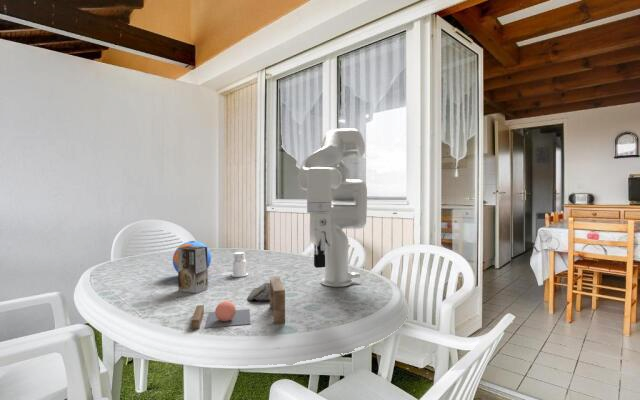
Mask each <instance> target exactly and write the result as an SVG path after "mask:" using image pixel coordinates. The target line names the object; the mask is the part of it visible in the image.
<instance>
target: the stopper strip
mask: <svg viewBox="0 0 640 400" xmlns="http://www.w3.org/2000/svg"><path fill="white" fill-rule="evenodd" d="M204 314H205V304H202V305H201V304H200V305H196V306H195V309H194V312H193V315H192V318H191V320H190V321H191V325H190V326H191V330H198V329H200V327H201V324H202V320H203V318H204Z"/></svg>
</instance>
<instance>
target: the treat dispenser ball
mask: <svg viewBox="0 0 640 400" xmlns="http://www.w3.org/2000/svg"><path fill="white" fill-rule="evenodd" d="M185 246H201V247H207V246H206V245H205V244H204V243H202V242H200V241H197V240H196V241H195V240H190V241H187V242H186V241H185V242H184V243H181V244H180V245H179V246H178V247H177V248H176V249H175V251H174V253H173V255H172V265H173V268H174V270H175V271H176V272H177V273H178V248H182V247H185ZM211 262H212V256H211V252H210V249H209V248H208V247H207V268H208V269H209V267H210V265H211Z"/></svg>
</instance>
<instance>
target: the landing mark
mask: <svg viewBox="0 0 640 400" xmlns="http://www.w3.org/2000/svg"><path fill="white" fill-rule="evenodd" d="M250 314H251V313H250V309H249V308H248V309H236V313H235V316H234V317H233V318H232V319H231V320H230V321H227V322H222V321H220V320H219V319H218V318H217V317H216V314H215V311H209V312H208V316H207V319H206V323H205V327H204V328H205V329H211V328H221V327H224V328H225V327H236V326H246V325H247V326H249V325H251V315H250Z"/></svg>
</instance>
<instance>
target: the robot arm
mask: <svg viewBox="0 0 640 400" xmlns="http://www.w3.org/2000/svg"><path fill="white" fill-rule="evenodd" d="M365 151H366V145H365V140H364V137H363V135H362V133H361V132H360V131H359V130H358V129H356V128H336V129H331V130H329V131H327V132H326V133H325V135H324V137H323V139H322V143H321V145H320V149H318V150H316V151H314V152H313V153H311V154H309V156H308V155H307V156H306V158H304V159H303V161H302V162H301V165H300V168H299V172H298V175H297V184H298V187H299V188H300V189H301V190H303V191H306V213H307V214H310V215H309V239H310V242H311V243H312V244H313V266H314V268H318V269H319V268H324V277H323V278H321V279H320V284H322V285H323V286H326V287H333V288H343V287H347V286H351V285H352V284H353V279H359V278H360V277H361V274H360V272H350V271H349V239H348V238H349V237H348V236H347V235H346V232H344V231H343V230H345V229H348V230H349V229H350V230H351V229H353V230H354V229H355V230H359V229H363V228H364V227H365V226H366V223H367V215H368V214H367V213H368V210H367V209H368V207H367V206H368V205H367V204H368V188H367V184H366V183H365V181H363V180H362V179H350V174H351V173H350V172H351V171H350V168H349V167H348V165H347V164H346V162H344V160H342V159H344V158H346V159H348V158H349V159H351V158H352V159H353V158H354V159H355V158H361V157H363V156H364V154H365ZM332 203H335V204H332Z"/></svg>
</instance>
